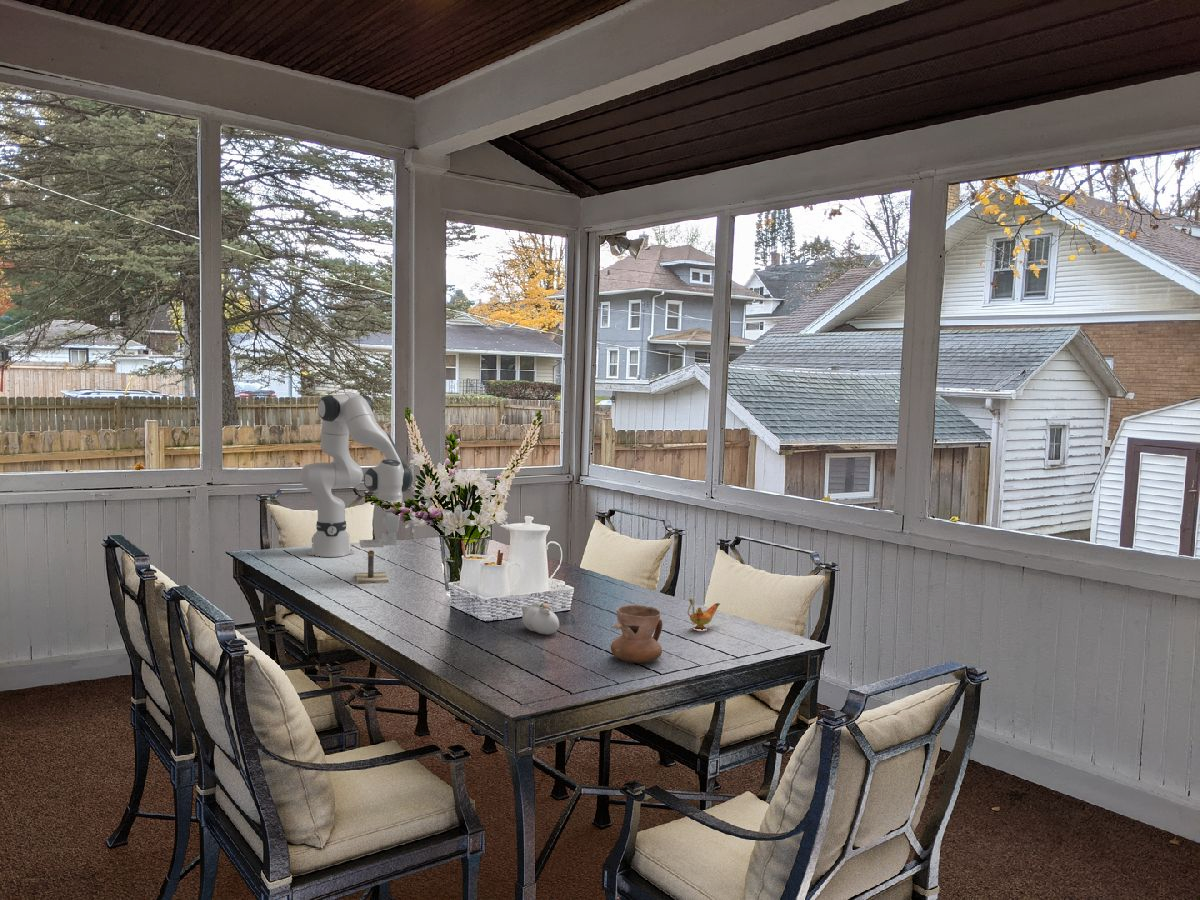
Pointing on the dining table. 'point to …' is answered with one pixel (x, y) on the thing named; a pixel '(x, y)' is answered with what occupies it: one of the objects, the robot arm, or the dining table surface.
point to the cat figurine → (540, 618)
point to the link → (378, 541)
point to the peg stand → (371, 572)
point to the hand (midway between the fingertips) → (389, 539)
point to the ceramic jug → (637, 634)
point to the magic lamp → (702, 615)
